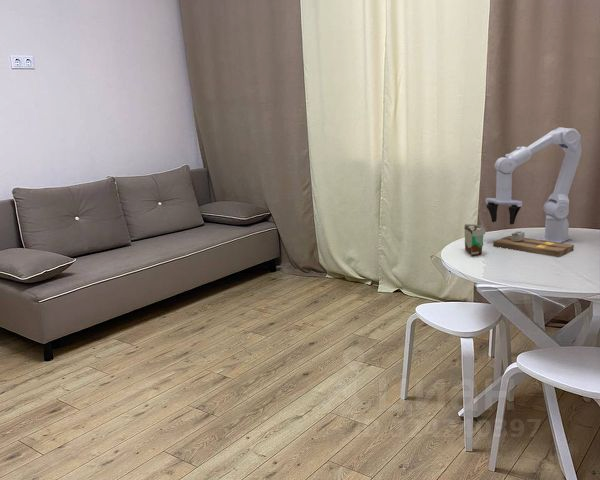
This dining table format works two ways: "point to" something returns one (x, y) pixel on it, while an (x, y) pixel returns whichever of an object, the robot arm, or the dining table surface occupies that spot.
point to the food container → (474, 239)
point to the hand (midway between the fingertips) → (503, 222)
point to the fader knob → (517, 236)
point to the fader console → (535, 246)
